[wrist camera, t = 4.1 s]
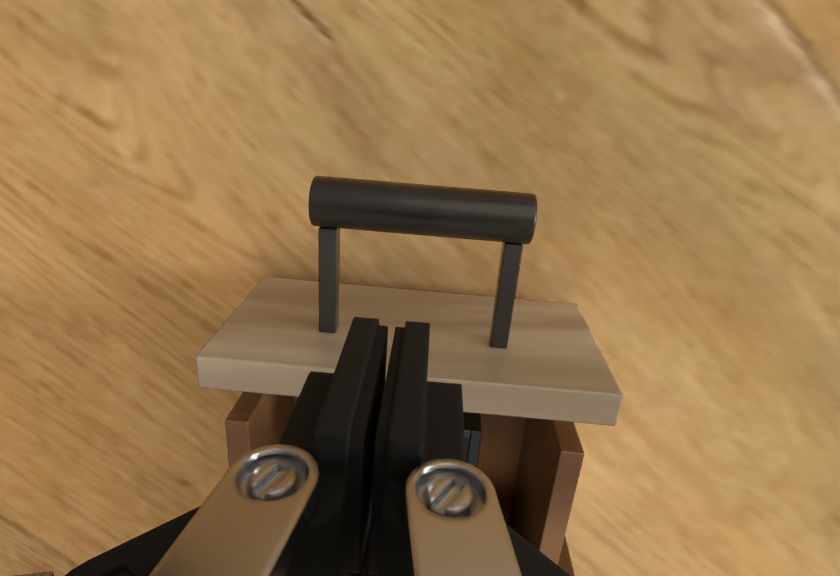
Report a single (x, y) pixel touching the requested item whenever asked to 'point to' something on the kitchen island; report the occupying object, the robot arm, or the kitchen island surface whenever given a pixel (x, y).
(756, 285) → the kitchen island surface
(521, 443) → the drawer
